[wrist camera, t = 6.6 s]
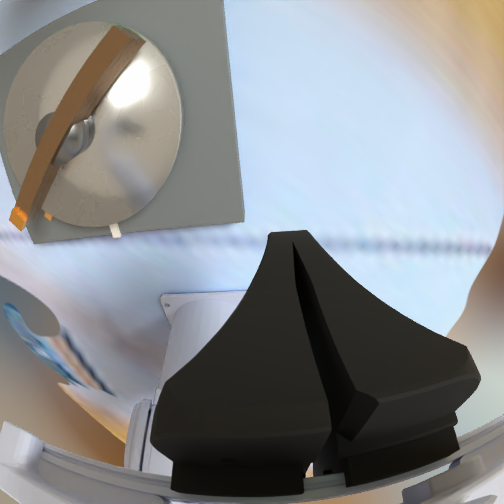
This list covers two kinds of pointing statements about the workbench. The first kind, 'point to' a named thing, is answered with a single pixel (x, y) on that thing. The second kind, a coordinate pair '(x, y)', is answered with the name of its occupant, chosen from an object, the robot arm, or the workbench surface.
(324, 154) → the workbench surface
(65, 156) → the dial
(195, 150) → the stand plate
